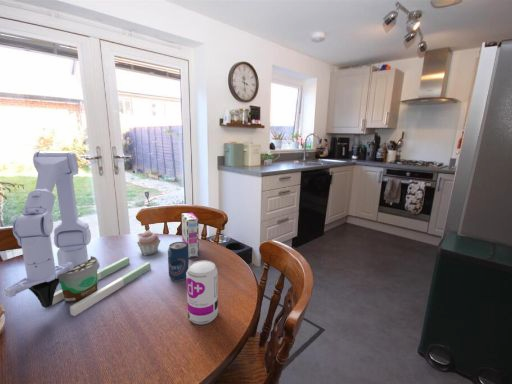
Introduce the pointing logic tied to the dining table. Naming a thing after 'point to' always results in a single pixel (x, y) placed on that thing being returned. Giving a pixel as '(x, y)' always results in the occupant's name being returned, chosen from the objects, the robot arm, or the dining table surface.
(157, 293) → the dining table surface
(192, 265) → the supplement can
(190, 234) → the candy bar box
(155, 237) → the cupcake
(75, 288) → the food container
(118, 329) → the dining table surface
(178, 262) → the soda can
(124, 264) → the parallel rails
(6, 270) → the dining table surface
